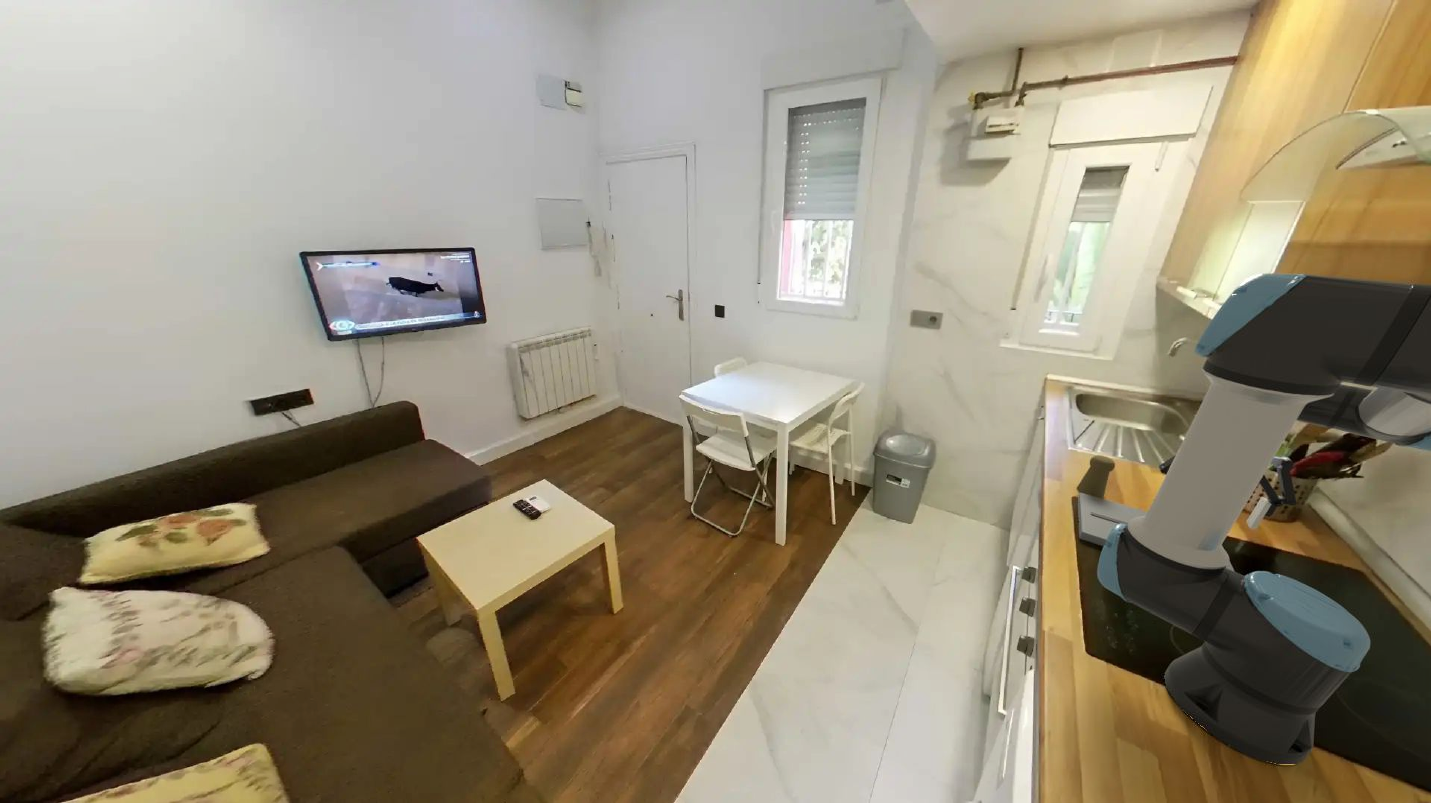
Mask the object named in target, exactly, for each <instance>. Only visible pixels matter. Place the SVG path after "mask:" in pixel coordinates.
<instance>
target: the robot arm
mask: <svg viewBox="0 0 1431 803" xmlns="http://www.w3.org/2000/svg"><path fill="white" fill-rule="evenodd" d="M1193 350H1194V353H1195V354H1196V355H1198V356H1199V357H1201V358H1206V361H1205V363H1204V365H1203V366H1202V369H1201V372H1202V373H1203V374H1204V375H1205V377H1207V379H1208V380H1209V382H1210V386H1209V388H1208V390H1207V392H1206V395H1205V396H1204V398H1203V400H1202V402H1201V404H1200V406H1199V409H1198V410H1197V412H1196V414H1195V416H1194V418H1193V421H1192V422H1191V424H1190V426H1189V428H1188V430H1187V432H1186V435H1185V437H1184V438H1183V440H1182V442H1181V444H1180V446H1179V448H1178V451H1177V452H1176V454H1175V455H1174V456H1172V457H1170V458H1169V459H1167V460H1166V461H1164V462H1163V463H1161V464H1160V465H1159V466H1158V468H1159V471H1160V473H1161V474H1163V475H1164V474H1165V477H1164V478H1163V481H1162V482H1161V485H1160V486H1159V488H1158V491H1157V492H1156V495H1155V496H1154V499H1153V501H1152V503H1151V505H1150V507H1149V508H1148V511H1147V512H1148V513H1147V515H1146V516H1141V517H1135V518H1133V519H1131V520H1130V521H1129V523H1128V525H1127V524H1122V523H1120V524H1117V525H1116V526H1115V527H1114V528H1113V529H1112V530H1111V532H1110V534H1109V535H1108V537H1107V540H1106V543H1105V546H1102V550H1101V552H1100V556H1099V560H1098V564H1097V570H1096V575H1097V579H1098V581H1099V583H1100V584H1101V586H1103V587H1104V588H1105V590H1108V591H1110V592H1112V593H1114V594H1115V595H1117V596H1119V597H1120V598H1121V599H1122V600H1123V601H1125V602H1127V603H1132V604H1133V605H1135V606H1138V607H1139V608H1140V609H1143V610H1144V611H1147V612H1149V613H1150V614H1152V615H1154V616H1156V617H1158V618H1160V619H1161V620H1163V621H1165V622H1167V623H1170V624H1171V625H1173V626H1175V627H1177V628H1178V629H1180V630H1183V631H1185V632H1187V633H1188V634H1190V635H1192V636H1194V637H1196V638H1198V639H1199V640H1201V641H1202V642H1203V644H1202V645H1201V646H1199V647H1197V648H1195V649H1194V650H1191V651H1189V652H1187V653H1185V654H1183V655H1182V656H1179V657H1177V658H1175V659H1174V660H1172V661H1171V663H1170V664H1169V666H1168V667H1167V669H1166V671H1165V672H1164V674H1165V675H1163V680H1164V679H1165V682H1164V685H1165V684H1166V685H1165V687H1166V688H1165V689H1167V688H1168V690H1167V692H1168V691H1169V692H1170V694H1171V695H1170V694H1169V695H1170V697H1171V696H1172V697H1173V698H1174V700H1175V701H1176V702H1177V704H1178V705H1179V706H1180V707H1181V708H1180V707H1179V706H1178V705H1177V704H1176V705H1177V706H1178V707H1179V708H1180V709H1181V710H1182V709H1183V710H1184V711H1185V712H1186V713H1187V714H1188V715H1189V716H1191V717H1192V718H1193V719H1194V720H1195V721H1196V722H1197V723H1199V724H1200V725H1201V726H1203V727H1204V728H1205V729H1206V730H1207V731H1208V732H1209V733H1210V734H1209V735H1211V734H1212V735H1213V737H1214V738H1216V739H1217V738H1218V739H1217V740H1218V741H1220V742H1221V741H1222V742H1221V743H1223V742H1224V743H1223V744H1225V743H1226V744H1228V745H1230V746H1232V747H1233V748H1235V749H1236V751H1237V750H1238V752H1239V751H1240V752H1239V753H1241V754H1244V755H1246V756H1248V757H1250V758H1252V757H1253V759H1255V758H1257V759H1256V760H1258V759H1259V760H1258V761H1260V760H1261V761H1260V762H1263V761H1268V762H1272V763H1276V764H1297V765H1299V764H1301V763H1302V762H1303V761H1304V760H1306V759H1307V757H1308V755H1310V754H1311V752H1312V750H1313V748H1314V741H1315V740H1314V737H1315V736H1314V735H1315V724H1316V723H1315V721H1316V720H1315V718H1316V713H1317V712H1318V711H1319V709H1320V708H1321V707H1322V706H1323V705H1324V704H1325V703H1326V701H1327V700H1328V699H1329V698H1330V697H1331V696H1333V694H1334V692H1335V691H1336V690H1337V689H1338V688H1339V687H1340V686H1341V684H1342V683H1343V682H1344V681H1345V680H1346V679H1347V678H1348V677H1349V676H1350V674H1352V673H1354V672H1356V671H1358V670H1359V669H1360V667H1361V662H1362V661H1363V659H1364V658H1365V656H1366V655H1367V653H1368V651H1369V650H1370V648H1371V639H1370V636H1369V634H1368V632H1367V630H1366V628H1365V627H1364V625H1363V624H1362V623H1361V622H1360V621H1359V620H1358V619H1357V618H1356V617H1355V616H1353V614H1351V613H1350V612H1349V611H1348V610H1347V609H1346V608H1344V607H1343V606H1342V605H1340V604H1339V603H1338V602H1337V601H1335V600H1333V599H1332V598H1330V597H1328V596H1327V595H1325V594H1324V593H1322V592H1320V591H1318V590H1317V589H1315V588H1312V587H1311V586H1309V585H1307V584H1304V583H1303V582H1300V581H1298V580H1296V579H1294V578H1291V577H1288V576H1285V575H1282V574H1279V573H1275V574H1274V573H1272V572H1270V571H1267V570H1266V571H1265V570H1257V571H1252V572H1250V573H1247V574H1246V575H1243V574H1241V573H1238V572H1236V571H1235V570H1234V571H1235V572H1234V571H1232V570H1230V569H1228V568H1226V566H1227V565H1228V563H1229V561H1230V556H1229V554H1228V553H1227V551H1226V550H1225V549H1224V547H1222V546H1223V542H1225V540H1226V538H1227V536H1228V534H1229V533H1230V531H1231V529H1232V528H1233V526H1234V524H1235V523H1236V521H1237V519H1238V518H1239V516H1240V515H1241V514H1242V511H1243V510H1244V508H1245V506H1246V505H1247V503H1248V501H1249V500H1250V498H1251V496H1252V495H1253V493H1254V491H1255V490H1256V488H1257V486H1258V485H1260V488H1262V490H1263V492H1264V493H1265V495H1266V496H1267V498H1266V497H1263V496H1261V497H1260V498H1259V501H1258V502H1257V504H1256V506H1255V507H1254V508H1253V510H1252V512H1251V514H1250V515H1249V517H1248V518H1247V520H1246V522H1245V523H1246V524H1247V525H1248V528H1249V529H1251V530H1253V531H1255V530H1256V531H1257V528H1258V527H1259V525H1260V524H1261V522H1262V520H1263V519H1264V517H1268V518H1270V517H1272V516H1273V514H1274V513H1275V511H1276V510H1277V508H1279V507H1280V508H1281V507H1282V506H1284V505H1289V506H1290V507H1291V506H1292V507H1293V506H1296V505H1297V498H1296V494H1295V489H1294V484H1293V480H1292V479H1293V478H1292V475H1291V471H1292V468H1293V465H1294V462H1293V461H1292V460H1291V459H1290V457H1288V456H1286V455H1282V456H1276V455H1277V453H1278V451H1279V450H1280V448H1281V446H1282V445H1283V443H1284V442H1285V440H1286V438H1287V437H1288V435H1289V433H1290V431H1291V430H1292V429H1293V427H1294V426H1295V423H1296V422H1302V423H1305V424H1308V425H1309V424H1310V425H1313V426H1314V425H1315V426H1317V427H1318V426H1319V427H1322V428H1323V427H1324V428H1327V429H1330V430H1331V429H1333V430H1336V431H1342V432H1345V433H1350V434H1355V435H1356V436H1357V435H1358V436H1361V437H1367V438H1371V439H1375V440H1378V441H1383V442H1386V443H1391V444H1393V445H1396V446H1399V447H1403V448H1404V447H1407V448H1413V449H1418V450H1423V451H1428V452H1431V284H1422V283H1421V284H1420V283H1407V282H1396V281H1386V280H1384V281H1383V280H1373V279H1362V278H1352V277H1351V278H1350V277H1337V276H1326V275H1317V274H1309V273H1268V272H1266V273H1258V274H1255V275H1252V276H1250V277H1247V278H1246V279H1245V280H1243V281H1242V282H1241V283H1240V284H1238V286H1237V287H1236V288H1235V289H1234V290H1233V291H1232V292H1231V293H1230V294H1229V296H1228V297H1227V299H1226V300H1225V301H1224V302H1223V304H1222V305H1221V306H1220V308H1219V309H1218V310H1217V312H1216V313H1215V314H1214V316H1213V318H1211V321H1210V322H1209V323H1208V324H1207V325H1206V327H1205V329H1204V331H1203V332H1202V334H1201V336H1200V338H1199V339H1198V342H1197V343H1196V346H1195V347H1194V349H1193ZM1342 383H1347V384H1355V385H1359V386H1360V385H1361V386H1365V387H1373V388H1374V389H1368V388H1364V387H1359V386H1358V387H1357V386H1352V385H1347V384H1342ZM1271 464H1272V465H1273V466H1274V467H1275V468H1276V472H1277V473H1276V474H1277V477H1278V481H1279V487H1280V492H1281V495H1278V494H1277V492H1276V491H1275V490H1274V488H1273V486H1272V485H1271V483H1270V482H1269V480H1268V478H1267V477H1266V471H1267V470H1268V468H1269V466H1270V465H1271ZM1221 545H1222V546H1221ZM1169 692H1168V693H1169ZM1172 697H1171V698H1172ZM1173 698H1172V699H1173ZM1174 700H1173V701H1174ZM1175 701H1174V702H1175ZM1176 702H1175V703H1176ZM1183 710H1182V711H1183ZM1184 711H1183V712H1184ZM1185 712H1184V713H1185ZM1186 713H1185V714H1186ZM1187 714H1186V715H1187ZM1188 715H1187V716H1188ZM1189 716H1188V717H1189ZM1207 731H1206V732H1207ZM1208 732H1207V733H1208ZM1212 735H1211V736H1212ZM1226 744H1225V745H1226ZM1228 745H1227V746H1228ZM1230 746H1229V747H1230ZM1232 747H1231V748H1232ZM1233 748H1232V749H1233ZM1235 749H1234V750H1235ZM1262 760H1263V761H1262ZM1301 761H1302V762H1301ZM1300 762H1301V763H1300ZM1298 763H1299V764H1298Z"/></svg>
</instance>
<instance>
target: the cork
mask: <svg viewBox="0 0 1431 803" xmlns="http://www.w3.org/2000/svg"><path fill="white" fill-rule="evenodd" d="M1115 467H1116V463H1115V461H1114V459H1111V457H1110V458H1109V457H1107V456H1104V455H1094V456H1092V457H1091V458H1090V460H1089V468H1088V469H1087V471H1086V472H1085V473H1084V475H1083V477H1082V479H1081V481H1079V483H1078V485H1077V487H1076V490H1077V492H1079V493H1084V494H1087V495H1091V496H1094V497H1098V498H1101V499H1104V496H1105V493H1106V489H1107V483H1108V480H1109V475H1110V473H1111V472H1112V471H1113V470H1114V469H1115Z"/></svg>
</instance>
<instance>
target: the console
mask: <svg viewBox="0 0 1431 803" xmlns="http://www.w3.org/2000/svg"><path fill="white" fill-rule="evenodd" d="M1077 498H1078V503H1077V520H1078V521H1079V523H1078V537H1079V539H1080V540H1083V541H1085V542H1089V543H1092V544H1095V545H1098V546H1101V547H1104V546H1105V543H1106V540H1107V537H1108V535H1109V534H1110V532H1111V530H1112V529H1113V528H1114V527H1115V526H1116V525H1117V524H1120V523H1122V524H1127V525H1128V523H1129V521H1130V520H1131V519H1133V518H1135V517H1141V516H1146V515H1147V513H1148V511H1146V510H1143V509H1139V508H1136V507H1132V506H1129V505H1125V504H1122V503H1119V502H1115V501H1111V500H1108V499H1105V498H1098V497H1094V496H1091V495H1087V494H1084V493H1080V492H1079V494H1078V496H1077ZM1078 518H1079V519H1078ZM1221 546H1222V547H1223V544H1222V545H1221ZM1223 548H1224V547H1223ZM1226 568H1228V569H1230V570H1232V571H1234V572H1236V571H1235V570H1234V567H1233V565H1232V564H1231V561H1230V560H1229V563H1228V565H1227V566H1226Z"/></svg>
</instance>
